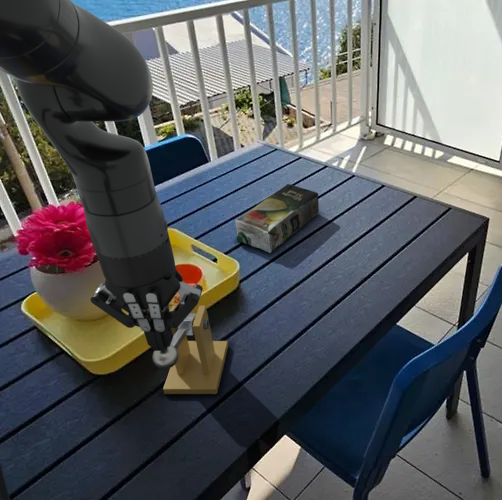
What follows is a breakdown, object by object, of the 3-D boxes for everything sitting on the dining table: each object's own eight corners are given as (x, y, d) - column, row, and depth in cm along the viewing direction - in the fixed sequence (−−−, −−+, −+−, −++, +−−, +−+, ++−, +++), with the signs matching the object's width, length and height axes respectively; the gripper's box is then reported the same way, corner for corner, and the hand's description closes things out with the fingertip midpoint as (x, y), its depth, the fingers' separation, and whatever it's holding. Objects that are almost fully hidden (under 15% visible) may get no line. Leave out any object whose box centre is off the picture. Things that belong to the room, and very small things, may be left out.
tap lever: (175, 373, 64) (173, 351, 63) (149, 373, 64) (147, 351, 63) (201, 330, 76) (200, 310, 76) (180, 329, 76) (178, 310, 75)
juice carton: (269, 256, 105) (266, 232, 101) (233, 243, 109) (229, 219, 105) (320, 214, 119) (320, 192, 116) (287, 204, 123) (285, 181, 120)
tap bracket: (216, 394, 77) (205, 340, 70) (164, 394, 76) (147, 340, 69) (228, 345, 85) (219, 293, 78) (181, 345, 84) (167, 292, 77)
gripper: (51, 254, 50) (98, 368, 61) (183, 256, 51) (208, 369, 61) (82, 215, 56) (120, 324, 67) (200, 216, 57) (220, 325, 67)
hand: (162, 345), depth 64 cm, fingers closed
